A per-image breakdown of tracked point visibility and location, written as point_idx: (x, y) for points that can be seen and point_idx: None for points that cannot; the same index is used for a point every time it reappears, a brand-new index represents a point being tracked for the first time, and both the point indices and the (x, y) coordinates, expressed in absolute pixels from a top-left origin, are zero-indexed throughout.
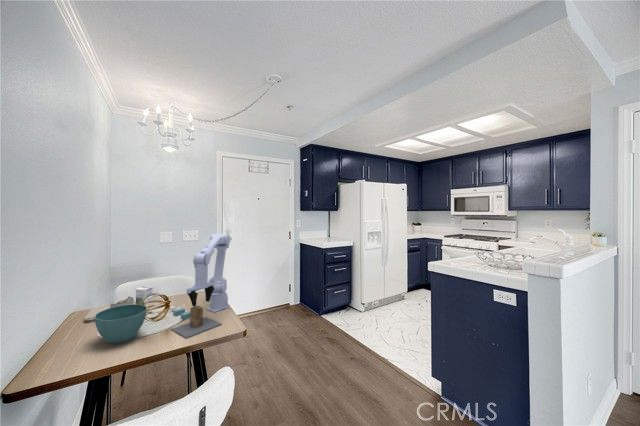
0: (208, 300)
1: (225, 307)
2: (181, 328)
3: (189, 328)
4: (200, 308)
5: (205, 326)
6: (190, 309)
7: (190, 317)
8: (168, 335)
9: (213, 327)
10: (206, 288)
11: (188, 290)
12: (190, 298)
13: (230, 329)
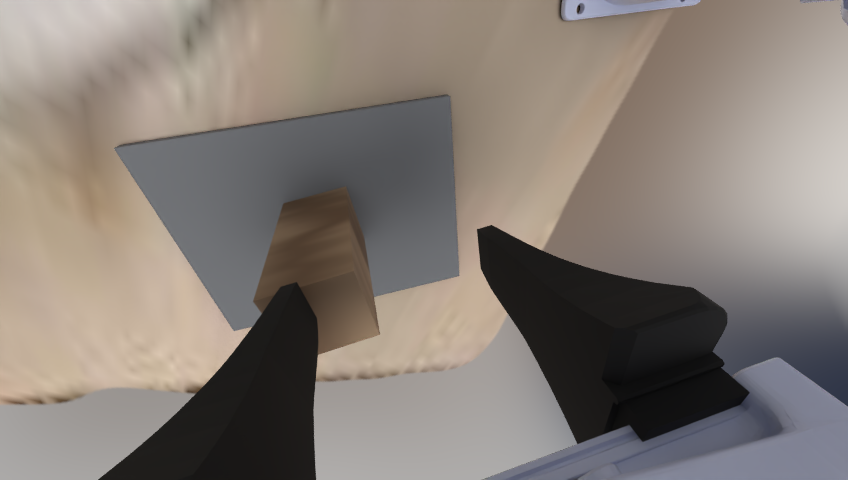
0: (488, 281)
1: (675, 1)
2: (214, 198)
3: (272, 232)
4: (351, 339)
5: (372, 261)
6: (257, 291)
7: (273, 244)
8: (110, 230)
9: (405, 286)
10: (599, 383)
11: None
12: (221, 381)
13: (454, 333)
